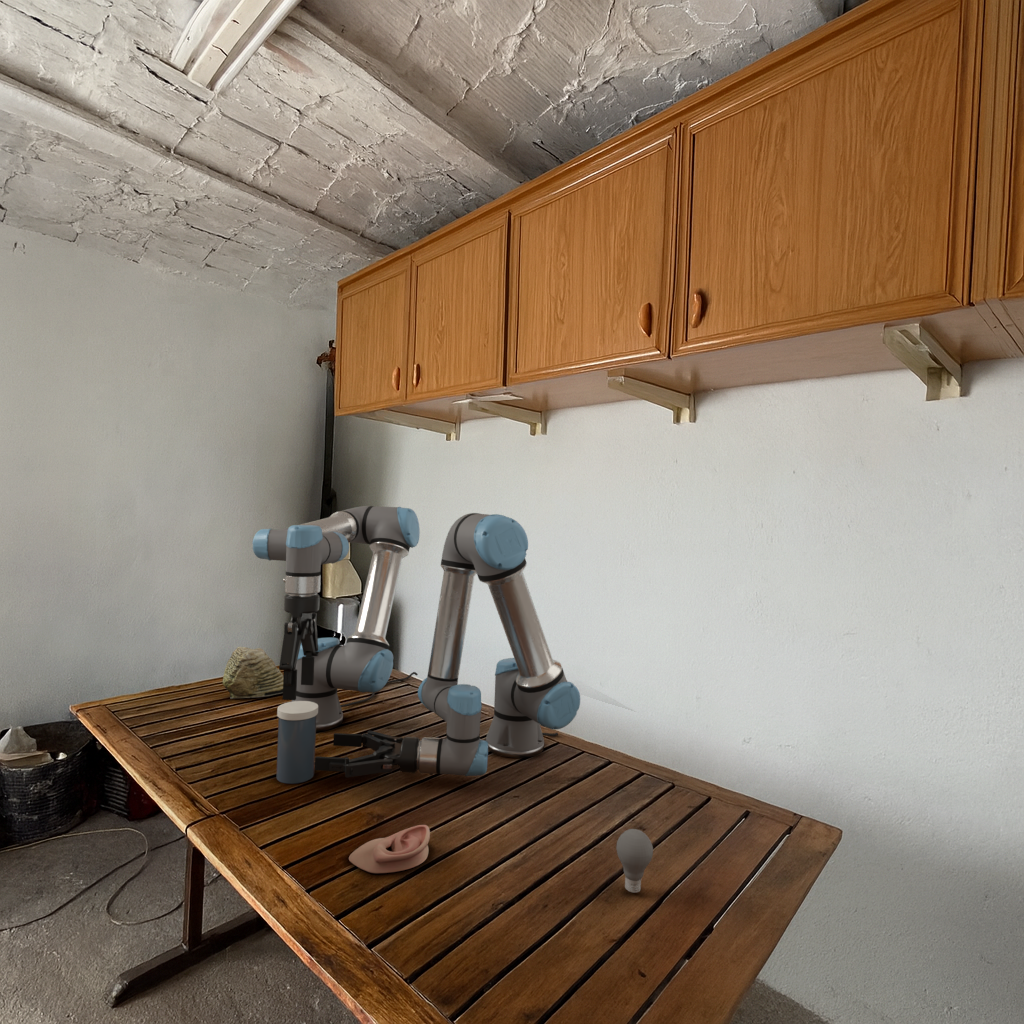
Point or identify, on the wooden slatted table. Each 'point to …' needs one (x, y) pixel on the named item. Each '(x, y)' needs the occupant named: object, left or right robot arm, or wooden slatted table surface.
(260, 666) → the fossil
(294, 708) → the lid
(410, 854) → the anatomical model
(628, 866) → the light bulb
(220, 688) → the wooden slatted table surface
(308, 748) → the jar
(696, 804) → the wooden slatted table surface
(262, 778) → the wooden slatted table surface
